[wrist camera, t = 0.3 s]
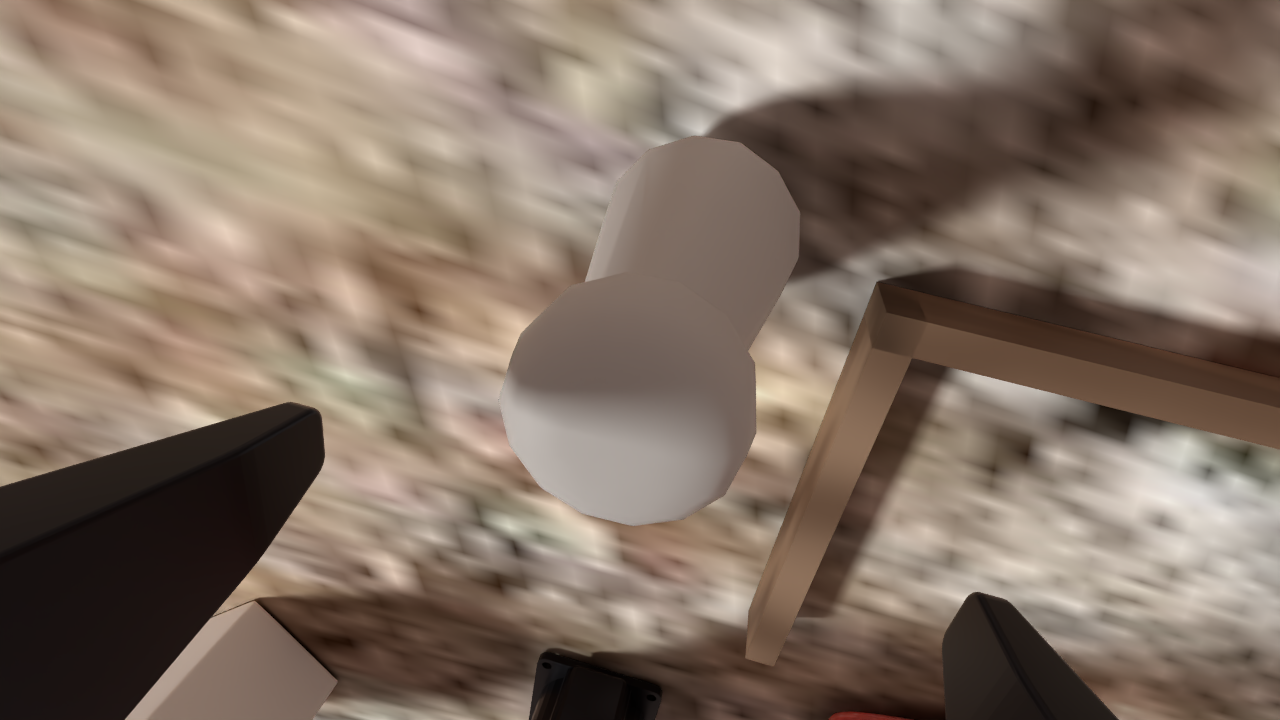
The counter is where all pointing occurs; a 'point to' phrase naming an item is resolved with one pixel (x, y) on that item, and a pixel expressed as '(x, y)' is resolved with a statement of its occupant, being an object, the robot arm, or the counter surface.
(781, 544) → the walnut bay
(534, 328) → the salt shaker
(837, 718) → the butter dish
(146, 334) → the counter surface
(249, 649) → the milk carton
